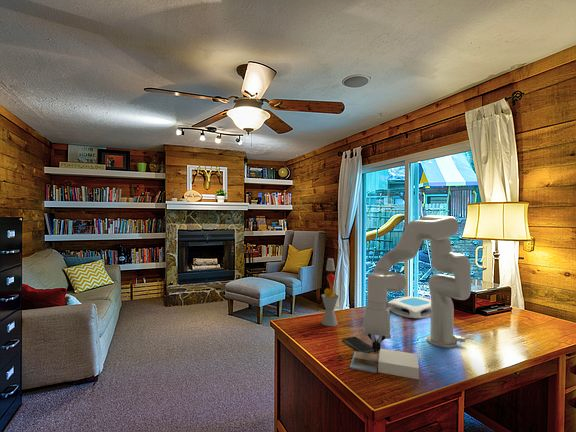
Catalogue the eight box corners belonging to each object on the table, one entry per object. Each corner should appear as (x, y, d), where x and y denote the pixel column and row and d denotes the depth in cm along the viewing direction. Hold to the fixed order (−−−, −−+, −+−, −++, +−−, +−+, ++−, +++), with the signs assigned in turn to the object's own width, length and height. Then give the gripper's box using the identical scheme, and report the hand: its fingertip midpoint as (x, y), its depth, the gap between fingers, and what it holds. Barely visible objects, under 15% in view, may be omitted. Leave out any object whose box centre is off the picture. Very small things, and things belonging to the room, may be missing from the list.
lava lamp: (332, 319, 171) (333, 257, 171) (341, 325, 163) (342, 259, 163) (318, 321, 168) (319, 257, 168) (326, 327, 160) (327, 260, 159)
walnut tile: (379, 360, 123) (379, 355, 123) (377, 367, 117) (378, 361, 117) (356, 356, 126) (356, 351, 126) (354, 362, 120) (354, 357, 120)
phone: (360, 352, 129) (341, 338, 143) (360, 355, 129) (341, 341, 143) (375, 349, 132) (355, 336, 146) (375, 352, 132) (355, 338, 146)
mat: (378, 356, 127) (378, 355, 127) (376, 373, 114) (376, 371, 114) (354, 352, 130) (354, 351, 130) (349, 368, 117) (349, 366, 117)
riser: (416, 364, 121) (417, 354, 121) (418, 379, 110) (418, 368, 110) (380, 358, 126) (380, 348, 126) (378, 372, 115) (378, 361, 114)
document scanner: (443, 313, 186) (444, 302, 186) (415, 320, 172) (415, 309, 172) (413, 304, 204) (413, 294, 204) (385, 310, 189) (385, 300, 189)
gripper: (397, 304, 121) (396, 350, 121) (358, 300, 126) (358, 344, 127) (397, 310, 114) (396, 358, 114) (356, 305, 119) (355, 352, 119)
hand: (376, 351), depth 120 cm, fingers closed
